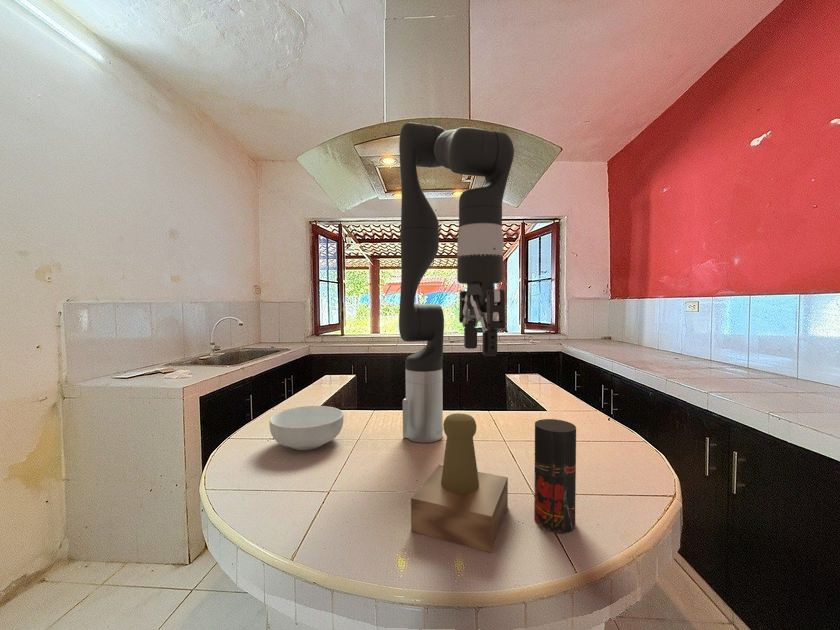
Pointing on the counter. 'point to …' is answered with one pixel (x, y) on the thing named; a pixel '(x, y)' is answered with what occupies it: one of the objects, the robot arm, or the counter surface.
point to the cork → (459, 455)
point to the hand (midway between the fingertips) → (479, 351)
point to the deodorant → (555, 475)
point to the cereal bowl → (306, 426)
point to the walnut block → (461, 511)
